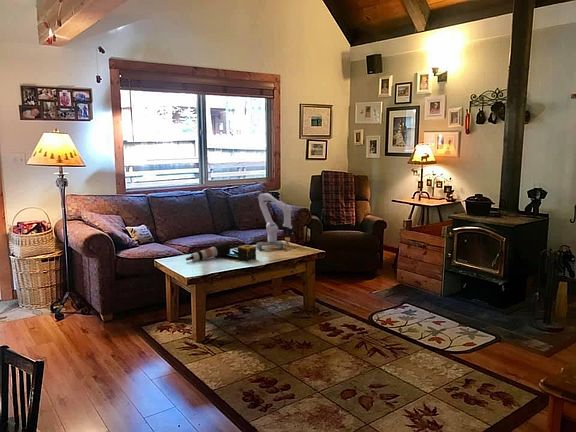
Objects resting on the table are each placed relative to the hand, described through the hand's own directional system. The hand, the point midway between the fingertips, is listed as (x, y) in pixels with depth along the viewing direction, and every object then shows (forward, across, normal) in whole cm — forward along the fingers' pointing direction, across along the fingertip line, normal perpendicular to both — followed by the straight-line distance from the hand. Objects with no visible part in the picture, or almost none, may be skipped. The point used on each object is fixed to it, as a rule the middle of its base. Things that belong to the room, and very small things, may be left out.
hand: (287, 235), depth 401 cm
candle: (+9, +30, -48) cm, 57 cm away
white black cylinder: (+9, +16, -74) cm, 76 cm away
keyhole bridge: (+8, +5, -18) cm, 21 cm away
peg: (+8, 0, 0) cm, 8 cm away
